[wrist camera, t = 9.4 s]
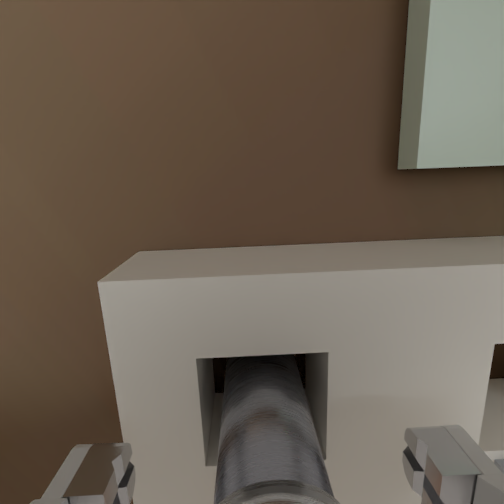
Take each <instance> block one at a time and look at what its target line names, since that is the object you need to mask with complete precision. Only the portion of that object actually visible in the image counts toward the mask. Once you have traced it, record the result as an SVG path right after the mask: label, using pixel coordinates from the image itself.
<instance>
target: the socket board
mask: <svg viewBox="0 0 504 504" xmlns="http://www.w3.org/2000/svg"><path fill="white" fill-rule="evenodd" d="M97 283H98V289H99V295H100V301H101V308H102V314H103V320H104V326H105V332H106V338H107V344H108V351H109V357H110V363H111V369H112V375H113V381H114V387H115V394H116V400H117V406H118V412H119V418H120V424H121V431H122V437H123V443H129V444H131V449H132V456H131V458H130V462H131V463H132V464H133V465H134V466H135V487H134V492H133V496H132V498H133V504H214V493H215V482H216V471H217V460H218V449H219V438H220V427H221V415H222V404H223V393H224V392H222V393H215V385H214V372H213V359H212V358H220V357H240V356H261V355H281V354H302V353H305V388H304V392H305V395H306V399H307V402H308V406H309V410H310V413H311V417H312V420H313V424H314V427H315V431H316V434H317V438H318V442H319V445H320V449H321V452H322V456H323V459H324V463H325V467H326V470H327V474H328V477H329V481H330V484H331V488H332V491H333V495H334V498H335V499H336V500H337V501H338V502H339V503H340V504H421V500H422V497H421V496H420V495H419V494H417V493H416V492H415V491H413V490H412V488H411V486H410V484H409V482H408V480H407V478H406V475H405V472H404V467H403V462H402V458H403V451H404V450H405V448H406V447H407V446H408V445H407V443H406V441H405V440H404V434H405V431H406V429H407V428H413V427H429V426H443V425H460V426H461V427H463V428H464V430H465V431H466V432H467V433H468V434H469V435H470V436H471V438H472V439H473V440H474V441H475V442H476V443H477V444H478V446H479V447H480V448H481V449H482V450H483V451H484V452H485V454H486V455H487V456H488V457H489V458H490V459H491V460H492V462H493V463H494V464H495V465H496V466H497V467H498V468H499V470H500V471H501V472H502V473H503V474H504V378H498V379H489V376H490V370H491V364H492V358H493V352H494V345H495V344H504V236H485V237H462V238H438V239H415V240H392V241H369V242H345V243H322V244H299V245H276V246H253V247H229V248H206V249H183V250H160V251H139V252H137V253H136V254H135V255H133V256H132V257H131V258H129V259H128V260H127V261H125V262H124V263H122V264H121V265H120V266H118V267H117V268H116V269H114V270H113V271H112V272H110V273H109V274H108V275H106V276H105V277H104V278H102V279H101V280H99V281H98V282H97Z"/></svg>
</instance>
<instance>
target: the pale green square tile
mask: <svg viewBox="0 0 504 504" xmlns="http://www.w3.org/2000/svg"><path fill="white" fill-rule="evenodd" d="M500 165H504V0H409V10H408V25H407V39H406V54H405V68H404V82H403V97H402V111H401V126H400V140H399V155H398V169H423V168H449V167H474V166H500Z"/></svg>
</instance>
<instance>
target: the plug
mask: <svg viewBox="0 0 504 504" xmlns="http://www.w3.org/2000/svg"><path fill="white" fill-rule="evenodd" d="M214 504H340V503H339V502H338V501H337V500H336V499H335V498H334V495H333V491H332V488H331V484H330V481H329V477H328V474H327V470H326V467H325V463H324V459H323V456H322V452H321V449H320V445H319V442H318V438H317V434H316V431H315V427H314V424H313V420H312V417H311V413H310V410H309V406H308V402H307V399H306V395H305V392H304V388H303V385H302V381H301V378H300V374H299V370H298V367H297V363H296V360H295V356H294V354H281V355H261V356H240V357H227V360H226V371H225V382H224V393H223V404H222V415H221V427H220V438H219V449H218V460H217V471H216V482H215V493H214Z"/></svg>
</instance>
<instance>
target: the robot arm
mask: <svg viewBox="0 0 504 504" xmlns="http://www.w3.org/2000/svg"><path fill="white" fill-rule="evenodd" d="M404 440H405V441H406V443H407V445H408V446H407V447H406V448H405V450H404V451H403V458H402V462H403V467H404V472H405V475H406V478H407V480H408V482H409V484H410V486H411V488H412V490H413V491H415V492H416V493H417V494H419V495H420V496H421V497H422V500H421V504H504V474H503V473H502V472H501V471H500V470H499V468H498V467H497V466H496V465H495V464H494V463H493V462H492V460H491V459H490V458H489V457H488V456H487V455H486V454H485V452H484V451H483V450H482V449H481V448H480V447H479V446H478V444H477V443H476V442H475V441H474V440H473V439H472V438H471V436H470V435H469V434H468V433H467V432H466V431H465V430H464V428H463V427H461V426H460V425H443V426H429V427H413V428H407V429H406V431H405V434H404ZM131 456H132V449H131V444H129V443H97V444H77V445H76V446H75V447H73V448H72V449H71V451H70V453H69V454H68V456H67V457H66V459H65V461H64V462H63V464H62V465H61V467H60V469H59V470H58V472H57V473H56V475H55V476H54V478H53V480H52V481H51V483H50V484H49V486H48V488H47V489H46V491H45V492H44V494H43V496H42V497H41V499H36V500H33V501H32V502H31V503H30V504H130V502H131V499H132V496H133V492H134V487H135V466H134V465H133V464H132V463H131V462H130V458H131Z"/></svg>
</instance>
